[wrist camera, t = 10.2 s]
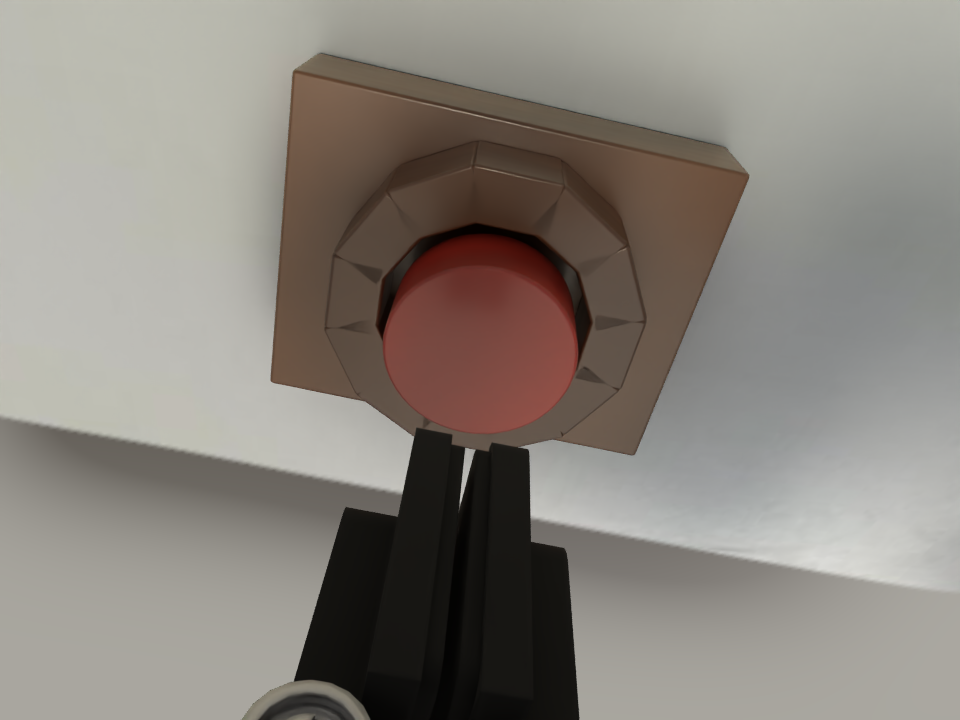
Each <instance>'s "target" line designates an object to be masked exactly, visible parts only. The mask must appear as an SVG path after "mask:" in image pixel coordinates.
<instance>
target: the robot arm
mask: <svg viewBox="0 0 960 720" xmlns="http://www.w3.org/2000/svg"><path fill="white" fill-rule="evenodd" d="M464 454H465V447H462V446H457V445H452V434H448V433H443V432H437V431H432V430H427V429H422V428H417V427H416V432H415V436H414V441H413V446H412V451H411V456H410V461H409V466H408V470H407V475H406V480H405V485H404V490H403V495H402V500H401V504H400V510H399V514H398V517H396V516H390V515H385V514H380V513H375V512H369V511H363V510H358V509H353V508H348V507H346V508H345V510H344V513H343V516H342V519H341V522H340V525H339V529H338V532H337V536H336V539H335V543H334V546H333V549H332V553H331V556H330V560H329V563H328V566H327V570H326V573H325V577H324V580H323V584H322V587H321V590H320V594H319V597H318V600H317V604H316V607H315V611H314V615H313V618H312V621H311V624H310V628H309V631H308V635H307V638H306V641H305V645H304V648H303V652H302V655H301V659H300V662H299V665H298V669H297V672H296V676H295V679H294V682H290V683H287V684H284V685H282V686H280V687H277V688H275V689H272V690H270V691H269V692H267V693H266V694H265V695H264V696H262V697H261V698H260V699H258V700H257V701H256V702H255V703H253V705H252V706H251V707H250V709H249V710H248V711H247V713H246V714H245V716H244V717H243V718H242V720H579V708H578V694H577V681H576V666H575V654H574V639H573V625H572V612H571V598H570V585H569V571H568V559H567V553H566V551H565V549H564V548H560V547H555V546H550V545H545V544H539V543H534V542H531V529H530V528H531V524H530V463H529V450H528V449H524V448H519V447H514V446H509V445H504V444H498V443H493V442H492V443H491V445H490V448H489V451H483V450H478V449H476V450H475V453H474V456H473V460H472V464H471V468H470V471H469V475H468V479H467V483H466V487H465V490H464V494H463V498H462V502H461V505H460V510H459V502H460V493H461V483H462V473H463V463H464ZM458 512H459V513H458Z"/></svg>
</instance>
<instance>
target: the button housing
mask: <svg viewBox="0 0 960 720" xmlns="http://www.w3.org/2000/svg"><path fill="white" fill-rule="evenodd" d="M748 179H749V174H748V173H747V172H746V170H745V169H744V168H743V167H742V166H741V164H740V163H739V162H738V161H737V160H736V159H735V157H734V156H733V155H732V154H731V153H730V152H729V150H728V149H727V148H725V147H721V146H717V145H713V144H708V143H704V142H700V141H695V140H691V139H687V138H682V137H678V136H674V135H670V134H665V133H661V132H657V131H652V130H648V129H644V128H639V127H635V126H631V125H626V124H622V123H618V122H613V121H609V120H605V119H600V118H596V117H592V116H587V115H583V114H579V113H575V112H570V111H566V110H562V109H557V108H553V107H549V106H544V105H540V104H536V103H531V102H527V101H523V100H518V99H514V98H510V97H505V96H501V95H497V94H493V93H488V92H484V91H480V90H475V89H471V88H467V87H462V86H458V85H454V84H449V83H445V82H441V81H436V80H432V79H428V78H423V77H419V76H415V75H410V74H406V73H402V72H398V71H393V70H389V69H385V68H380V67H376V66H372V65H367V64H363V63H359V62H354V61H350V60H346V59H341V58H337V57H333V56H328V55H324V54H317V55H315V56H314V57H313V58H311V59H310V60H308V61H307V62H305V63H304V64H302V65H301V66H299V67H298V68H296V69H295V70H294V71H293V75H292V89H291V103H290V116H289V130H288V144H287V158H286V172H285V186H284V199H283V213H282V227H281V241H280V255H279V269H278V283H277V296H276V310H275V324H274V338H273V352H272V366H271V382H273V383H277V384H282V385H287V386H292V387H297V388H302V389H307V390H312V391H316V392H321V393H326V394H331V395H336V396H341V397H346V398H351V399H356V400H361V401H366V402H367V403H368V404H370V405H371V406H373V407H374V408H375V409H377V410H378V411H379V412H381V413H382V414H384V415H385V416H386V417H388V418H389V419H390V420H392V421H393V422H395V423H396V424H397V425H399V426H400V427H402V428H403V429H404V430H406V431H407V432H408V433H410V434H411V435H413V436H415V432H416V427H417V428H422V429H427V430H432V431H437V432H443V433H448V434H452V445H457V446H462V447H465V448H469V449H474V450H476V449H478V450H483V451H489V448H490V445H491V443H492V442H493V443H498V444H504V445H509V446H514V447H520V446H525V445H529V444H534V443H538V442H543V441H547V440H552V439H554V440H559V441H563V442H568V443H573V444H578V445H583V446H588V447H593V448H598V449H603V450H608V451H613V452H618V453H623V454H628V455H635V453H636V451H637V448H638V446H639V444H640V441H641V439H642V436H643V434H644V431H645V429H646V427H647V424H648V422H649V419H650V417H651V414H652V412H653V410H654V407H655V405H656V402H657V400H658V397H659V395H660V393H661V390H662V388H663V385H664V383H665V380H666V378H667V376H668V373H669V371H670V368H671V366H672V363H673V361H674V359H675V356H676V354H677V351H678V349H679V347H680V344H681V342H682V339H683V337H684V334H685V332H686V330H687V327H688V325H689V322H690V320H691V317H692V315H693V313H694V310H695V308H696V305H697V303H698V300H699V298H700V296H701V293H702V291H703V288H704V286H705V283H706V281H707V279H708V276H709V274H710V271H711V269H712V266H713V264H714V262H715V259H716V257H717V254H718V252H719V249H720V247H721V245H722V242H723V240H724V237H725V235H726V233H727V230H728V228H729V225H730V223H731V220H732V218H733V216H734V213H735V211H736V208H737V206H738V203H739V201H740V199H741V196H742V194H743V191H744V189H745V186H746V184H747V182H748ZM469 234H495V235H501V236H506V237H509V238H513V239H516V240H518V241H521V242H523V243H525V244H528V245H529V246H531V247H533V248H534V249H536V250H538V251H539V252H540V253H542V254H543V255H544V256H545V257H547V258H548V259H549V260H550V261H551V262H552V263H553V264H554V265H555V267H556V268H557V269H558V271H559V272H560V273H561V275H562V276H563V278H564V280H565V282H566V284H567V286H568V288H569V291H570V294H571V297H572V302H573V307H574V316H575V324H576V332H577V340H578V362H577V367H576V371H575V375H574V377H573V380H572V382H571V384H570V386H569V388H568V390H567V391H566V393H565V394H564V396H563V397H562V398H561V399H560V401H559V402H558V403H557V404H556V405H555V406H554V407H553V408H552V409H551V410H550V411H549V412H547V413H546V414H545V415H543V416H542V417H541V418H539V419H537V420H536V421H534V422H532V423H530V424H528V425H525V426H523V427H521V428H518V429H514V430H511V431H507V432H501V433H494V434H472V433H465V432H460V431H456V430H452V429H448V428H446V427H443V426H440V425H438V424H436V423H434V422H432V421H430V420H428V419H426V418H425V417H423V416H422V415H420V414H419V413H418V412H416V411H415V410H414V409H413V408H412V407H410V406H409V405H408V404H407V403H406V402H405V400H404V399H403V398H402V397H401V396H400V394H399V393H398V392H397V390H396V389H395V387H394V385H393V383H392V382H391V380H390V378H389V375H388V373H387V370H386V367H385V363H384V358H383V334H384V330H385V326H386V323H387V320H388V317H389V314H390V311H391V308H392V305H393V302H394V299H395V296H396V293H397V290H398V288H399V285H400V283H401V280H402V278H403V277H404V275H405V273H406V272H407V270H408V269H409V267H410V266H411V265H412V264H413V263H414V261H415V260H416V259H418V258H419V257H420V256H421V255H422V254H423V253H424V252H426V251H427V250H429V249H430V248H432V247H433V246H435V245H437V244H439V243H441V242H443V241H446V240H449V239H451V238H454V237H458V236H463V235H469Z"/></svg>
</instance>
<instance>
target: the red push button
mask: <svg viewBox="0 0 960 720" xmlns="http://www.w3.org/2000/svg"><path fill="white" fill-rule="evenodd" d="M383 358H384V363H385V367H386V370H387V373H388V375H389V378H390V380H391V382H392V383H393V385H394V387H395V389H396V390H397V392H398V393H399V394H400V396H401V397H402V398H403V399H404V400H405V402H406V403H407V404H408V405H409V406H410V407H412V408H413V409H414V410H415V411H416V412H418V413H419V414H420V415H422V416H423V417H425V418H426V419H428V420H430V421H432V422H434V423H436V424H438V425H440V426H443V427H446V428H448V429H452V430H456V431H460V432H465V433H472V434H494V433H501V432H507V431H511V430H514V429H518V428H521V427H523V426H525V425H528V424H530V423H532V422H534V421H536V420H537V419H539V418H541V417H542V416H543V415H545V414H546V413H547V412H549V411H550V410H551V409H552V408H553V407H554V406H555V405H556V404H557V403H558V402H559V401H560V399H561V398H562V397H563V396H564V394H565V393H566V391H567V390H568V388H569V386H570V384H571V382H572V380H573V377H574V375H575V371H576V367H577V362H578V340H577V332H576V324H575V316H574V307H573V302H572V297H571V294H570V291H569V288H568V286H567V284H566V282H565V280H564V278H563V276H562V275H561V273H560V272H559V271H558V269H557V268H556V267H555V265H554V264H553V263H552V262H551V261H550V260H549V259H548V258H547V257H545V256H544V255H543V254H542V253H540V252H539V251H538V250H536V249H534V248H533V247H531V246H529V245H528V244H525V243H523V242H521V241H518V240H516V239H513V238H509V237H506V236H501V235H495V234H469V235H463V236H458V237H454V238H451V239H449V240H446V241H443V242H441V243H439V244H437V245H435V246H433V247H432V248H430V249H429V250H427V251H426V252H424V253H423V254H422V255H421V256H420V257H419V258H418V259H416V260H415V261H414V263H413V264H412V265H411V266H410V267H409V269H408V270H407V272H406V273H405V275H404V277H403V278H402V280H401V283H400V285H399V288H398V290H397V293H396V296H395V299H394V302H393V305H392V308H391V311H390V314H389V317H388V320H387V323H386V326H385V330H384V334H383Z"/></svg>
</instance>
